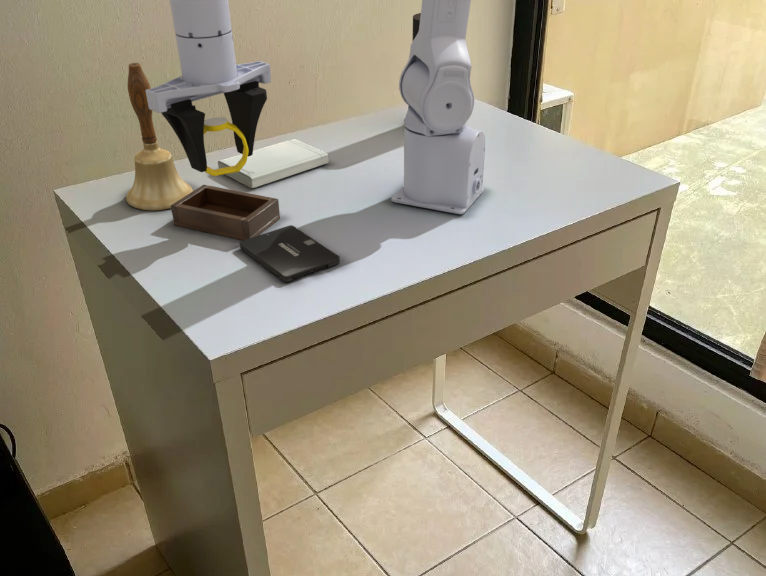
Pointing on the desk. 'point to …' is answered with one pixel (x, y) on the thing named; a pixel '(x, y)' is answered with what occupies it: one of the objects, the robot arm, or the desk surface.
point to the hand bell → (151, 156)
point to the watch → (219, 125)
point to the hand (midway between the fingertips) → (222, 161)
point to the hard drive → (275, 162)
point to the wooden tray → (226, 212)
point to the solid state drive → (289, 252)
